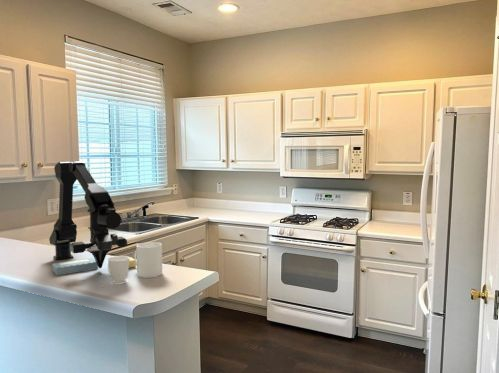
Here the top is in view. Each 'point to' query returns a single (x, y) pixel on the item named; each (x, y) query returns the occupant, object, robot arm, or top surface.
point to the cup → (118, 268)
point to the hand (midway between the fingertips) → (100, 267)
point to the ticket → (74, 266)
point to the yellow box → (132, 262)
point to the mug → (149, 259)
